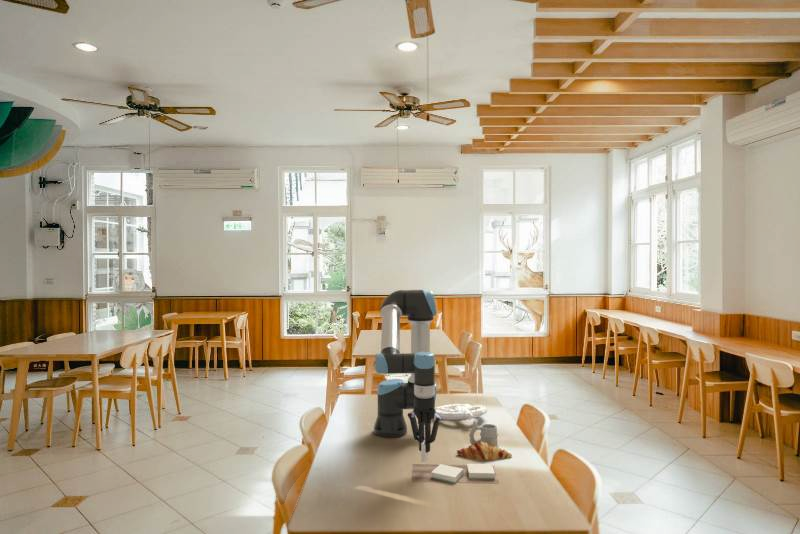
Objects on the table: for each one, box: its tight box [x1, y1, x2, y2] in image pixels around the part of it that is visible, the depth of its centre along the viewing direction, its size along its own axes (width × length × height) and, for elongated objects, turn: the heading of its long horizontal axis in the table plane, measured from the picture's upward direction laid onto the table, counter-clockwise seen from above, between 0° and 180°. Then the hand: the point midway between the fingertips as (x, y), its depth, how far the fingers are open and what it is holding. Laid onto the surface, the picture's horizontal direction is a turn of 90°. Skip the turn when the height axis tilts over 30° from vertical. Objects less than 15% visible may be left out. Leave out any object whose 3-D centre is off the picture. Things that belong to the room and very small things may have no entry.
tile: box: [431, 463, 464, 484], centre depth 175 cm, size 8×2×9 cm
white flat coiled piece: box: [435, 402, 488, 421], centre depth 244 cm, size 28×24×6 cm
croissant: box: [456, 442, 513, 462], centre depth 193 cm, size 21×10×8 cm, turn 86°
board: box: [411, 463, 500, 485], centre depth 177 cm, size 15×30×1 cm, turn 87°
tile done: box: [466, 463, 496, 479], centre depth 177 cm, size 8×9×2 cm
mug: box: [468, 420, 500, 448], centre depth 202 cm, size 8×12×12 cm, turn 84°
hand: (424, 460), depth 180 cm, fingers closed
